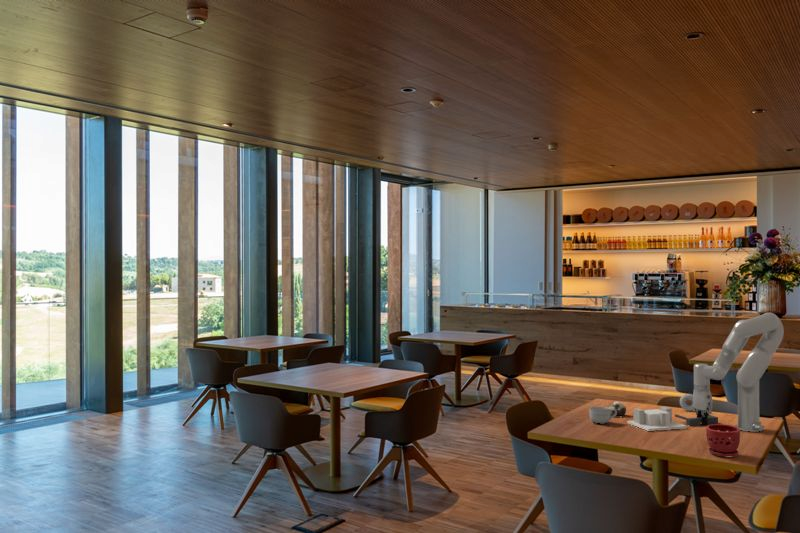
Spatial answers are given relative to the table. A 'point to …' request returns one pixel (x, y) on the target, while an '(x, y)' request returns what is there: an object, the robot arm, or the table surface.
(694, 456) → the table surface
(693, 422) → the glasses
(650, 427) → the white block structure
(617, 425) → the table surface
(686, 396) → the donut
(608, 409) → the teacup
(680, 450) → the table surface
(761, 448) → the table surface
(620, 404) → the skull
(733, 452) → the plant pot
